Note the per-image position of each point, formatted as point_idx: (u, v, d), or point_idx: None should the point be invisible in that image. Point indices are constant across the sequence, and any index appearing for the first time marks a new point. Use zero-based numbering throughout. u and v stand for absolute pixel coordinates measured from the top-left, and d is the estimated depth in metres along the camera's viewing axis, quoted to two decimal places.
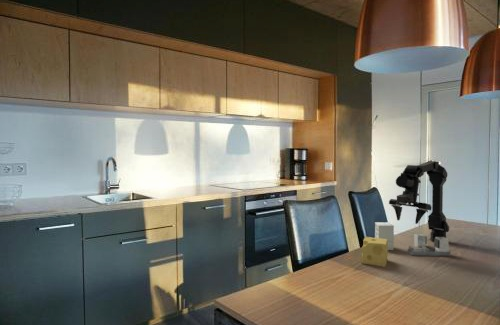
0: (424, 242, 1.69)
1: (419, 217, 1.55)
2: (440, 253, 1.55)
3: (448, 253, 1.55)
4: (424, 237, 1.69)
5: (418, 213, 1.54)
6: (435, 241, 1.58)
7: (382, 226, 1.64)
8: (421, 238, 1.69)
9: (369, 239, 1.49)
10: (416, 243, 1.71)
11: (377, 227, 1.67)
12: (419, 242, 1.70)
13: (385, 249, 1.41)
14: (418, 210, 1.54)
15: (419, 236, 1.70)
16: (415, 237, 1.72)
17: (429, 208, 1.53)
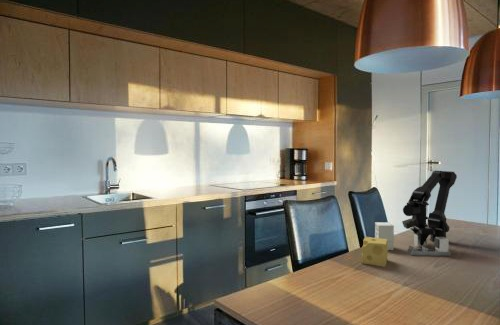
0: (424, 242, 1.69)
1: (422, 239, 1.68)
2: (440, 253, 1.55)
3: (448, 253, 1.55)
4: None
5: (419, 236, 1.68)
6: (435, 241, 1.58)
7: (382, 226, 1.64)
8: None
9: (369, 239, 1.49)
10: (416, 243, 1.71)
11: (377, 227, 1.67)
12: (419, 242, 1.70)
13: (385, 249, 1.41)
14: (418, 233, 1.68)
15: None
16: (415, 237, 1.72)
17: (430, 233, 1.62)
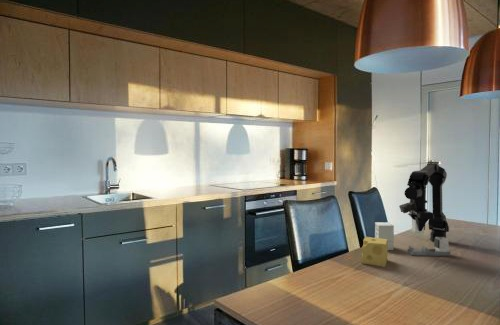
0: None
1: (421, 225, 1.55)
2: (440, 253, 1.55)
3: (448, 253, 1.55)
4: None
5: (418, 221, 1.55)
6: (435, 241, 1.58)
7: (382, 226, 1.64)
8: None
9: (369, 239, 1.49)
10: (413, 229, 1.58)
11: (377, 227, 1.67)
12: (417, 227, 1.56)
13: (385, 249, 1.41)
14: (416, 218, 1.55)
15: (417, 221, 1.56)
16: (413, 222, 1.59)
17: (429, 217, 1.49)
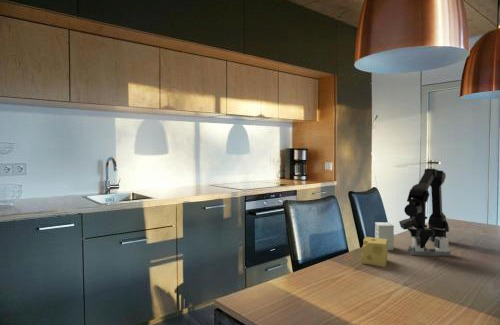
0: None
1: (423, 242, 1.53)
2: (440, 253, 1.55)
3: (448, 253, 1.55)
4: None
5: (419, 238, 1.53)
6: (435, 241, 1.58)
7: (382, 226, 1.64)
8: (419, 241, 1.56)
9: (369, 239, 1.49)
10: (414, 247, 1.58)
11: (377, 227, 1.67)
12: (417, 245, 1.56)
13: (385, 249, 1.41)
14: (418, 235, 1.53)
15: (417, 239, 1.56)
16: (413, 240, 1.59)
17: (429, 234, 1.48)
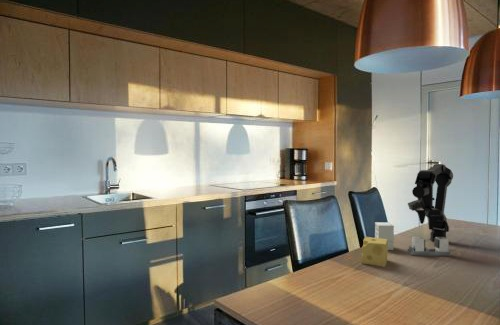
0: (423, 246, 1.56)
1: (431, 222, 1.61)
2: (440, 253, 1.55)
3: (448, 253, 1.55)
4: (423, 240, 1.56)
5: (428, 219, 1.61)
6: (435, 241, 1.58)
7: (382, 226, 1.64)
8: (419, 241, 1.56)
9: (369, 239, 1.49)
10: (414, 247, 1.58)
11: (377, 227, 1.67)
12: (417, 245, 1.56)
13: (385, 249, 1.41)
14: (426, 216, 1.61)
15: (417, 239, 1.56)
16: (413, 240, 1.59)
17: (437, 214, 1.57)
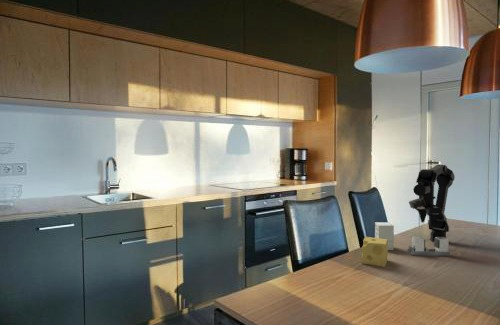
0: (423, 246, 1.56)
1: (432, 220, 1.62)
2: (440, 253, 1.55)
3: (448, 253, 1.55)
4: (423, 240, 1.56)
5: (429, 217, 1.62)
6: (435, 241, 1.58)
7: (382, 226, 1.64)
8: (419, 241, 1.56)
9: (369, 239, 1.49)
10: (414, 247, 1.58)
11: (377, 227, 1.67)
12: (417, 245, 1.56)
13: (385, 249, 1.41)
14: (427, 214, 1.62)
15: (417, 239, 1.56)
16: (413, 240, 1.59)
17: (438, 212, 1.58)
